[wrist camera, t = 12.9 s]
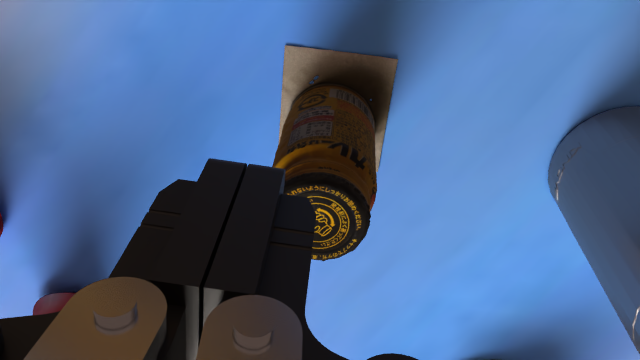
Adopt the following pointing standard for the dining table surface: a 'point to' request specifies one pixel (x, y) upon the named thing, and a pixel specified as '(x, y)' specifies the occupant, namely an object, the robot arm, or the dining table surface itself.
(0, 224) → the soda can
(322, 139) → the condiment
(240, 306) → the robot arm
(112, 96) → the dining table surface
